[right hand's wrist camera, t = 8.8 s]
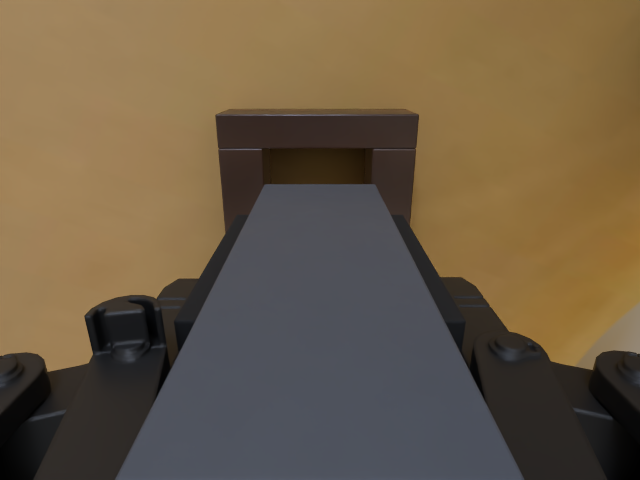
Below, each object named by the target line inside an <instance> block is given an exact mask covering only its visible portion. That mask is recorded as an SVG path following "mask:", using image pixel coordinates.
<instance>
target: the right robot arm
mask: <svg viewBox="0 0 640 480" xmlns="http://www.w3.org/2000/svg"><path fill="white" fill-rule="evenodd" d="M248 216H249V215H236V217H235V219H234V220H233V222H232V224H231V226H230V227H229V229H228V231H227V232H226V234H225V236H224V237H223V239H222V241H221V242H220V244H219V246H218V247H217V249H216V251H215V252H214V254H213V256H212V258H211V259H210V261H209V263H208V264H207V266H206V268H205V269H204V271H203V273H202V274H201V276H200V278H199V279H177V280H176V281H174V282H173V283H171V284H169V285H168V286H166V287H165V288H164V289H163V290H162V292H161V293H160V294H159V296H158V297H157V299H155V298H154V297H150V296H145V295H129V296H123V297H117V298H114V299H111V300H108V301H105V302H102V303H101V304H99V305H97V306H95V307H94V308H92V309H91V310H90V311H89V312H88V313H87V314H86V315H85V316H84V317H85V321H86V325H87V330H88V334H89V338H90V343H91V347H92V351H93V356H92V358H91V360H90V362H89V363H88V364H84V365H80V366H76V367H71V368H66V369H61V370H56V371H50V372H47V368H46V365H45V361H44V359H43V358H42V357H40V356H39V355H38V354H32V353H15V354H7V355H4V356H0V480H115V479H116V477H117V475H118V473H119V471H120V469H121V467H122V465H123V463H124V461H125V459H126V457H127V455H128V453H129V451H130V449H131V447H132V445H133V443H134V441H135V439H136V437H137V435H138V433H139V431H140V429H141V427H142V425H143V423H144V422H145V420H146V418H147V416H148V414H149V412H150V410H151V408H152V406H153V404H154V402H155V400H156V398H157V396H158V394H159V392H160V390H161V388H162V386H163V384H164V382H165V380H166V378H167V376H168V374H169V372H170V370H171V368H172V366H173V364H174V362H175V360H176V358H177V356H178V354H179V352H180V350H181V348H182V347H183V345H184V343H185V341H186V339H187V337H188V335H189V333H190V331H191V329H192V327H193V325H194V323H195V321H196V319H197V317H198V315H199V313H200V311H201V309H202V307H203V305H204V303H205V301H206V299H207V297H208V295H209V293H210V291H211V289H212V287H213V285H214V283H215V281H216V279H217V277H218V275H219V274H220V272H221V270H222V268H223V266H224V264H225V262H226V260H227V258H228V256H229V254H230V252H231V250H232V248H233V246H234V244H235V242H236V240H237V238H238V236H239V234H240V232H241V230H242V228H243V226H244V224H245V222H246V220H247V218H248ZM391 217H392V219H393V221H394V223H395V225H396V227H397V229H398V230H399V232H400V234H401V236H402V238H403V240H404V242H405V244H406V246H407V248H408V250H409V252H410V254H411V256H412V258H413V260H414V262H415V264H416V266H417V268H418V270H419V272H420V274H421V276H422V278H423V280H424V282H425V284H426V286H427V288H428V290H429V292H430V294H431V296H432V298H433V300H434V302H435V304H436V306H437V308H438V310H439V312H440V314H441V315H442V317H443V319H444V321H445V323H446V325H447V327H448V329H449V331H450V333H451V335H452V337H453V339H454V341H455V343H456V345H457V347H458V349H459V351H460V353H461V355H462V357H463V359H464V361H465V363H466V365H467V367H468V369H469V371H470V373H471V375H472V377H473V379H474V381H475V383H476V385H477V387H478V389H479V391H480V393H481V395H482V397H483V398H484V400H485V402H486V404H487V406H488V408H489V410H490V412H491V414H492V416H493V418H494V420H495V422H496V424H497V426H498V428H499V430H500V432H501V434H502V436H503V438H504V440H505V442H506V444H507V446H508V448H509V450H510V452H511V454H512V456H513V458H514V460H515V462H516V464H517V466H518V468H519V470H520V472H521V474H522V476H523V478H524V480H640V354H636V353H633V352H625V351H608V352H603V353H601V354H600V355H599V356H597V357H596V360H595V364H594V367H593V370H589V369H584V368H579V367H574V366H568V365H563V364H559V363H555V362H551V361H550V359H549V357H548V355H547V353H546V352H545V351H544V349H543V348H542V347H541V346H540V345H539V344H537V343H536V342H534V341H533V340H531V339H530V338H527V337H525V336H522V335H520V334H517V333H513V332H509V331H508V330H507V328H506V327H505V326H504V324H503V323H502V322H501V320H500V319H499V317H498V316H497V315H496V313H495V312H494V311H493V309H492V308H491V307H489V304H488V303H487V301H486V300H485V299H483V296H482V294H481V293H480V292H479V290H478V289H477V288H476V286H474V285H473V284H471V283H470V282H468V281H466V280H465V279H463V278H462V277H439V275H438V273H437V272H436V270H435V268H434V266H433V265H432V263H431V261H430V260H429V258H428V256H427V255H426V253H425V251H424V250H423V248H422V246H421V245H420V243H419V241H418V240H417V238H416V236H415V234H414V233H413V231H412V229H411V228H410V226H409V224H408V223H407V221H406V219H405V218H404V216H403V215H391Z"/></svg>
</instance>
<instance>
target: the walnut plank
mask: <svg viewBox="0 0 640 480" xmlns="http://www.w3.org/2000/svg"><path fill="white" fill-rule="evenodd" d="M418 120H419V115H418V114H416V113H413V112H411V111H408V110H406V109H229V110H226V111H224V112H221V113H219V114H216V127H217V139H218V148H219V150H218V151H219V162H220V174H221V186H222V197H223V209H224V221H225V232H227V231H228V229H229V227H230V226H231V224H232V222H233V220H234V219H235V217H236V215H249V214H250V212H251V210H252V208H253V206H254V204H255V202H256V200H257V199H258V197H259V195H260V193H261V191H262V189H263V187H264V185H265V184H271V173H270V149H269V148H365V172H364V184H375V185H376V187H377V189H378V191H379V193H380V195H381V197H382V199H383V201H384V203H385V205H386V207H387V209H388V211H389V213H390V215H403V216H404V218H405V219H406V221H407V223H408V224H409V226H410V217H411V205H412V192H413V180H414V168H415V155H416V149H415V148H416V145H417V132H418Z"/></svg>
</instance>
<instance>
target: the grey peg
mask: <svg viewBox="0 0 640 480" xmlns="http://www.w3.org/2000/svg"><path fill="white" fill-rule="evenodd" d="M115 480H524V478H523V476H522V474H521V472H520V470H519V468H518V466H517V464H516V462H515V460H514V458H513V456H512V454H511V452H510V450H509V448H508V446H507V444H506V442H505V440H504V438H503V436H502V434H501V432H500V430H499V428H498V426H497V424H496V422H495V420H494V418H493V416H492V414H491V412H490V410H489V408H488V406H487V404H486V402H485V400H484V398H483V397H482V395H481V393H480V391H479V389H478V387H477V385H476V383H475V381H474V379H473V377H472V375H471V373H470V371H469V369H468V367H467V365H466V363H465V361H464V359H463V357H462V355H461V353H460V351H459V349H458V347H457V345H456V343H455V341H454V339H453V337H452V335H451V333H450V331H449V329H448V327H447V325H446V323H445V321H444V319H443V317H442V315H441V314H440V312H439V310H438V308H437V306H436V304H435V302H434V300H433V298H432V296H431V294H430V292H429V290H428V288H427V286H426V284H425V282H424V280H423V278H422V276H421V274H420V272H419V270H418V268H417V266H416V264H415V262H414V260H413V258H412V256H411V254H410V252H409V250H408V248H407V246H406V244H405V242H404V240H403V238H402V236H401V234H400V232H399V230H398V229H397V227H396V225H395V223H394V221H393V219H392V217H391V215H390V213H389V211H388V209H387V207H386V205H385V203H384V201H383V199H382V197H381V195H380V193H379V191H378V189H377V187H376V185H375V184H265V185H264V187H263V189H262V191H261V193H260V195H259V197H258V199H257V200H256V202H255V204H254V206H253V208H252V210H251V212H250V214H249V216H248V218H247V220H246V222H245V224H244V226H243V228H242V230H241V232H240V234H239V236H238V238H237V240H236V242H235V244H234V246H233V248H232V250H231V252H230V254H229V256H228V258H227V260H226V262H225V264H224V266H223V268H222V270H221V272H220V274H219V275H218V277H217V279H216V281H215V283H214V285H213V287H212V289H211V291H210V293H209V295H208V297H207V299H206V301H205V303H204V305H203V307H202V309H201V311H200V313H199V315H198V317H197V319H196V321H195V323H194V325H193V327H192V329H191V331H190V333H189V335H188V337H187V339H186V341H185V343H184V345H183V347H182V348H181V350H180V352H179V354H178V356H177V358H176V360H175V362H174V364H173V366H172V368H171V370H170V372H169V374H168V376H167V378H166V380H165V382H164V384H163V386H162V388H161V390H160V392H159V394H158V396H157V398H156V400H155V402H154V404H153V406H152V408H151V410H150V412H149V414H148V416H147V418H146V420H145V422H144V423H143V425H142V427H141V429H140V431H139V433H138V435H137V437H136V439H135V441H134V443H133V445H132V447H131V449H130V451H129V453H128V455H127V457H126V459H125V461H124V463H123V465H122V467H121V469H120V471H119V473H118V475H117V477H116V479H115Z"/></svg>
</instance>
